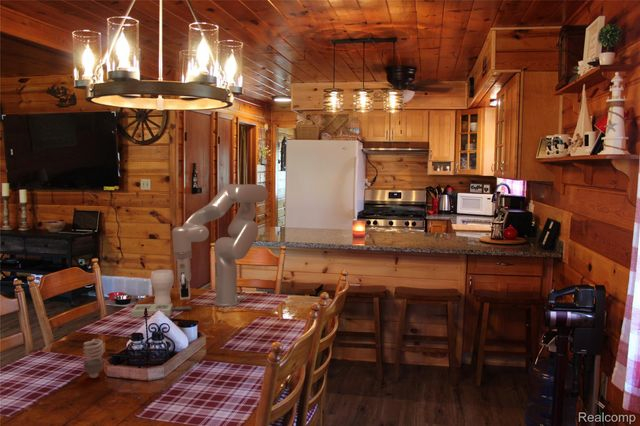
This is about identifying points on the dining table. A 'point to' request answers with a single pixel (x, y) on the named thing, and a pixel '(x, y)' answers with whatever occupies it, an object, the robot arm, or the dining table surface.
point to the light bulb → (94, 363)
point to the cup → (162, 285)
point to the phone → (182, 309)
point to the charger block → (188, 291)
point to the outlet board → (151, 309)
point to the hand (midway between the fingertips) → (185, 295)
